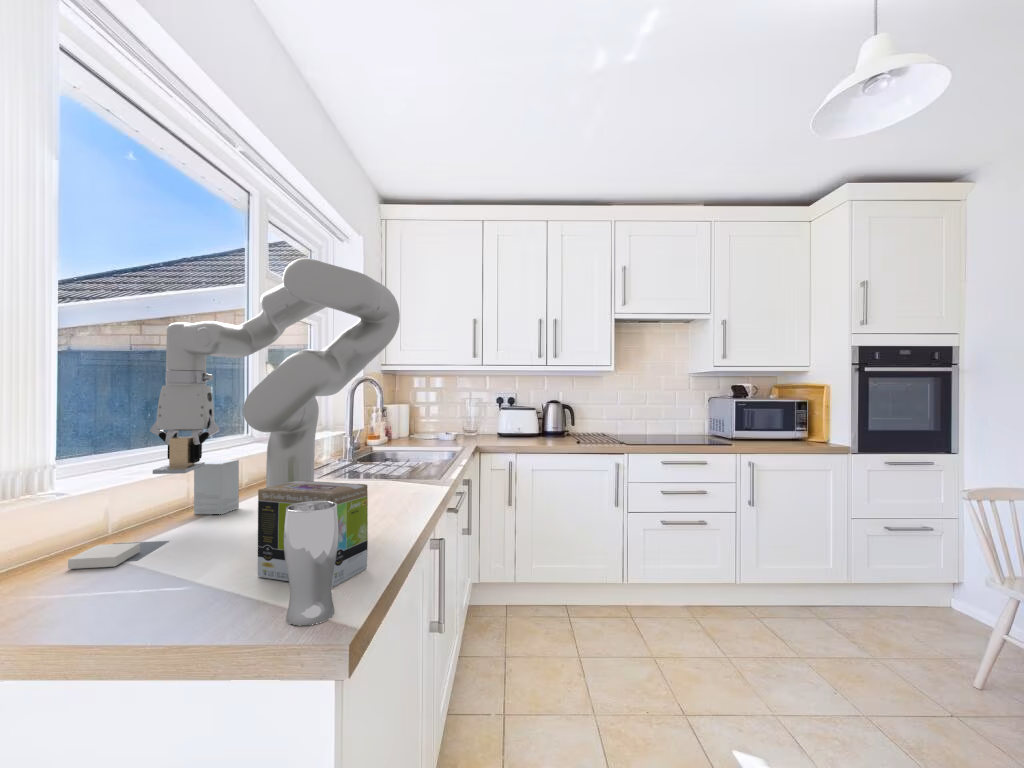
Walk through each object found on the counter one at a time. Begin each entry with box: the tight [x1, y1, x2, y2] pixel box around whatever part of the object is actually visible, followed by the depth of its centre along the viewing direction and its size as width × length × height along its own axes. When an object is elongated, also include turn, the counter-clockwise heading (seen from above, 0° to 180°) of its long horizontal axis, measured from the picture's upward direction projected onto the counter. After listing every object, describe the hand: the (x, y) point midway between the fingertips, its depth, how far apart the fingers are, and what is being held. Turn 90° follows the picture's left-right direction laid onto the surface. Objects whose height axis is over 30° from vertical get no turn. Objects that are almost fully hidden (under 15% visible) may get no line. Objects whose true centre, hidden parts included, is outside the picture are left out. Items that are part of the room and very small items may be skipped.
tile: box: [67, 542, 140, 570], centre depth 90 cm, size 2×7×8 cm
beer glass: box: [284, 501, 339, 627], centre depth 69 cm, size 7×7×15 cm
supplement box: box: [193, 459, 240, 516], centre depth 128 cm, size 7×7×13 cm
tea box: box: [257, 480, 369, 589], centre depth 85 cm, size 15×10×15 cm, turn 71°
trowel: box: [152, 436, 205, 475], centre depth 110 cm, size 10×6×7 cm, turn 11°
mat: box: [112, 540, 170, 563], centre depth 95 cm, size 10×12×1 cm
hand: (184, 461), depth 112 cm, fingers closed on trowel, 3 cm apart
